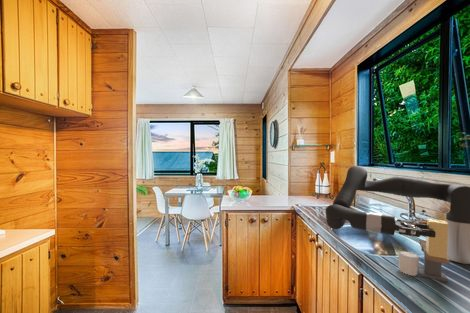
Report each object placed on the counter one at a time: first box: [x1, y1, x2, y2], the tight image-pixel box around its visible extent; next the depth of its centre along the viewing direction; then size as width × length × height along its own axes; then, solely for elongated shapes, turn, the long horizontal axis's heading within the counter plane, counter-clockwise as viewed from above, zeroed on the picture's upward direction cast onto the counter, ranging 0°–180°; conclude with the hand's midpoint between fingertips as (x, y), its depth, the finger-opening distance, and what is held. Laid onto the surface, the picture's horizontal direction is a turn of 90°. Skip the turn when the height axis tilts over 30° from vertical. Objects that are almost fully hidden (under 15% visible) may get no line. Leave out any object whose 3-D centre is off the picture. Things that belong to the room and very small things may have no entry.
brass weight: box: [425, 218, 448, 259], centre depth 86 cm, size 5×5×12 cm
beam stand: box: [417, 253, 448, 283], centre depth 92 cm, size 5×8×8 cm, turn 59°
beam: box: [418, 239, 451, 265], centre depth 92 cm, size 20×7×2 cm, turn 149°
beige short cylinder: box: [397, 250, 421, 276], centre depth 95 cm, size 7×7×7 cm
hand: (433, 231), depth 86 cm, fingers open, 8 cm apart
